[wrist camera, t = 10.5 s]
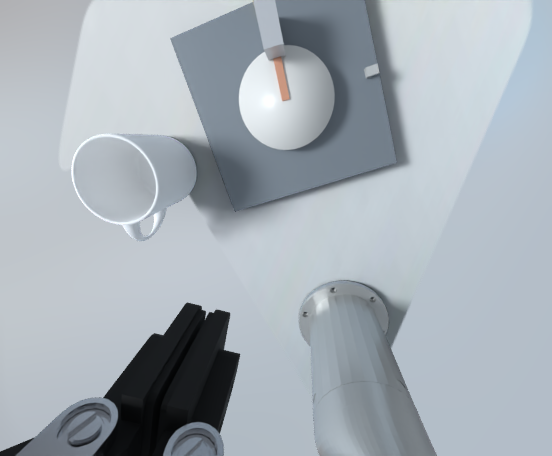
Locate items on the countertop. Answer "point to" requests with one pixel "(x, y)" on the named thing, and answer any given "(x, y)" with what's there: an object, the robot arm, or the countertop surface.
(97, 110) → the countertop surface
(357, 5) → the panel
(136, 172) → the mug
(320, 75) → the dial
